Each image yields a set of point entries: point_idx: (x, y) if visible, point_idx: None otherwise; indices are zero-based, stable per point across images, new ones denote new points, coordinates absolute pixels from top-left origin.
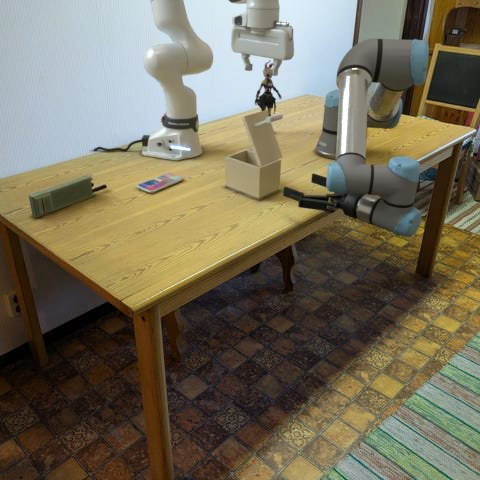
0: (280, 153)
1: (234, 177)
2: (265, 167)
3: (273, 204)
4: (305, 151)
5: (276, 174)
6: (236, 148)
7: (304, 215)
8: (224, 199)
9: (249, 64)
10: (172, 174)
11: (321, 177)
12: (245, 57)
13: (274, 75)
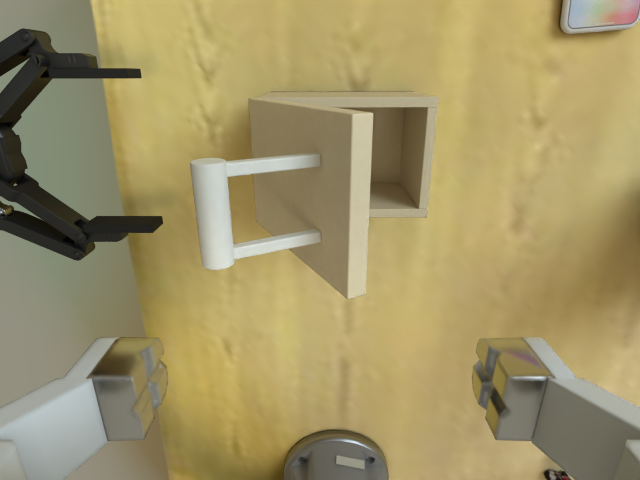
0: (261, 222)
1: (377, 93)
2: None
3: (224, 103)
4: (399, 432)
5: None
6: (572, 338)
7: (117, 108)
8: (353, 18)
9: (511, 400)
10: (614, 20)
11: (115, 224)
12: (623, 451)
13: (100, 341)
